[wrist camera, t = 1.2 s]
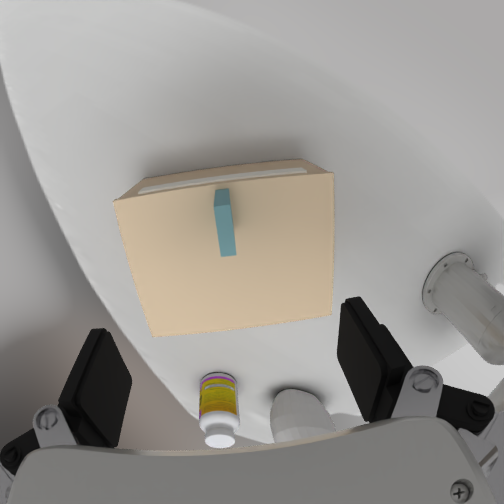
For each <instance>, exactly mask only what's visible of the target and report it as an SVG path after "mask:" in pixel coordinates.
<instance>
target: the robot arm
mask: <svg viewBox="0 0 504 504" xmlns="http://www.w3.org/2000/svg"><path fill="white" fill-rule="evenodd" d="M485 280H487V275H486V274H485V273H484V274H481V275H479V274H478V273H477V272H476V271H474V266H473V263H472V260H471V259H470V258H469V257H468V256H467V255H465V254H463V253H459V252H457V253H452V254H450V255H448V256H446V257H445V258H443V259H442V260H441V261H440V262H438V264H437V265H436V266H435V267H434V268H433V270H432V271H431V272H430V274H429V276H428V278H427V280H426V283H425V285H424V289H423V303H424V305H425V307H426V308H427V309H428V310H429V311H430V312H431V313H433V314H444V315H445V316H446V317H447V319H448V320H449V321H450V322H451V323H452V324H453V325H454V326H455V327H456V328H457V330H458V331H459V332H460V333H461V334H462V335H463V336H464V337H465V339H466V340H467V341H468V342H469V343H470V344H471V345H472V347H473V348H474V349H475V350H476V351H477V352H478V354H479V355H480V356H481V357H482V358H483V359H484V360H485V361H487V362H488V363H490V364H493V365H504V296H503V295H502V294H501V293H500V292H499V291H497V290H496V289H495V288H494V287H493V286H491V285H490V284H489V283H488V282H486V281H485ZM337 358H338V361H339V363H340V365H341V368H342V370H343V372H344V375H345V377H346V379H347V381H348V384H349V386H350V388H351V391H352V393H353V395H354V398H355V400H356V402H357V405H358V407H359V409H360V412H361V414H362V416H363V419H364V421H366V422H367V421H369V424H364V425H361V426H357V427H353V428H348V429H345V430H340V431H336V432H331V433H327V434H322V435H317V436H312V437H307V438H302V439H297V440H291V441H285V442H279V443H272V444H264V445H257V446H248V447H239V448H227V449H212V450H189V451H155V450H153V451H152V450H131V449H116V448H114V447H117V446H118V442H119V437H120V433H121V428H122V423H123V419H124V414H125V410H126V406H127V401H128V397H129V393H130V389H131V386H132V378H131V375H130V373H129V371H128V369H127V367H126V365H125V363H124V361H123V359H122V357H121V355H120V353H119V351H118V348H117V346H116V344H115V342H114V340H113V337H112V335H111V333H110V332H107V330H106V329H104V328H100V329H92V330H91V331H90V333H89V335H88V337H87V339H86V341H85V343H84V345H83V347H82V349H81V351H80V353H79V355H78V357H77V359H76V361H75V364H74V366H73V368H72V370H71V372H70V375H69V377H68V379H67V381H66V384H65V386H64V388H63V391H62V393H61V395H60V398H59V400H58V401H59V404H58V406H55V405H46V406H44V407H42V408H40V409H39V410H38V411H37V412H36V414H35V416H34V418H33V427H34V428H33V429H31V430H29V431H28V432H26V433H24V434H23V435H21V436H19V437H18V438H16V439H14V440H13V441H11V442H9V443H8V444H7V445H6V446H4V447H3V449H2V451H1V453H0V504H504V378H503V379H502V381H501V382H500V383H499V384H498V385H497V387H496V388H495V389H494V390H493V391H492V392H491V394H490V395H489V396H488V397H486V396H484V395H481V394H477V393H473V392H469V391H466V390H462V389H458V388H454V387H451V386H448V385H444V384H443V379H442V376H441V374H440V373H439V372H438V371H437V370H435V369H434V368H432V367H429V366H416V367H413V366H412V364H411V363H410V361H409V360H408V358H407V357H406V355H405V354H404V352H403V351H402V349H401V348H400V346H399V345H398V344H397V342H396V341H395V339H394V338H393V336H392V335H391V333H390V332H389V330H388V329H387V328H386V326H385V325H383V324H379V323H378V321H377V320H376V318H375V317H374V315H373V314H372V312H371V311H370V310H369V308H368V307H367V305H366V304H365V302H364V301H363V300H362V298H361V297H353V298H348V299H346V300H345V303H342V304H341V312H340V325H339V336H338V346H337Z"/></svg>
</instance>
